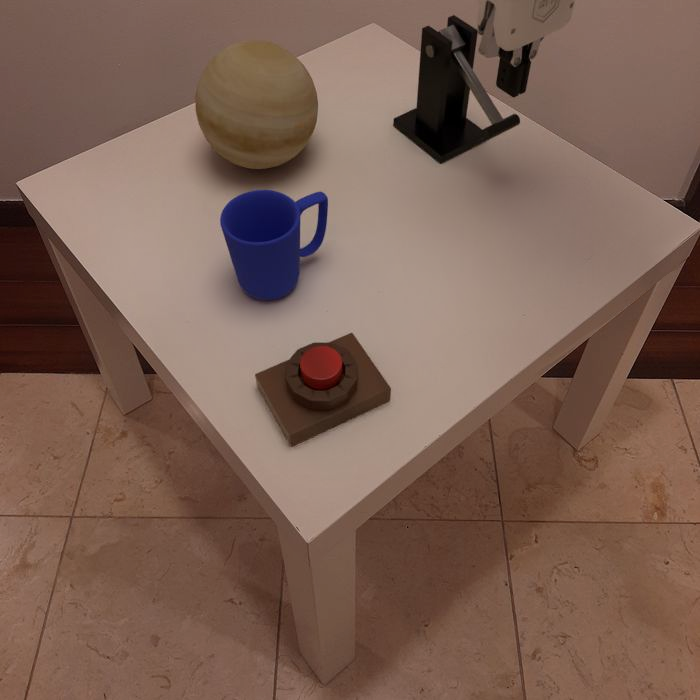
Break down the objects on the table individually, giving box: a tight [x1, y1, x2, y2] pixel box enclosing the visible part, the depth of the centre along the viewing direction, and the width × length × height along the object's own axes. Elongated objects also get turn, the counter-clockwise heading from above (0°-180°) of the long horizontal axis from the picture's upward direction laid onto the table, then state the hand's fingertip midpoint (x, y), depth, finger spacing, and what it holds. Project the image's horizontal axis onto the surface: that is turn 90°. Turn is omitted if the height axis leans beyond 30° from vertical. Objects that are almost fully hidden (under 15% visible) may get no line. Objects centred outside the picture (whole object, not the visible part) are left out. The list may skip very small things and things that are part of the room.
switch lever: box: [438, 25, 521, 141], centre depth 89 cm, size 14×5×2 cm, turn 36°
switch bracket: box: [392, 14, 488, 165], centre depth 94 cm, size 10×8×15 cm
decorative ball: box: [194, 39, 319, 170], centre depth 91 cm, size 15×15×15 cm
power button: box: [300, 346, 342, 390], centre depth 71 cm, size 4×4×2 cm
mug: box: [219, 189, 329, 301], centre depth 80 cm, size 8×12×10 cm
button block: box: [254, 332, 392, 447], centre depth 73 cm, size 11×8×4 cm
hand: (510, 89), depth 84 cm, fingers closed
